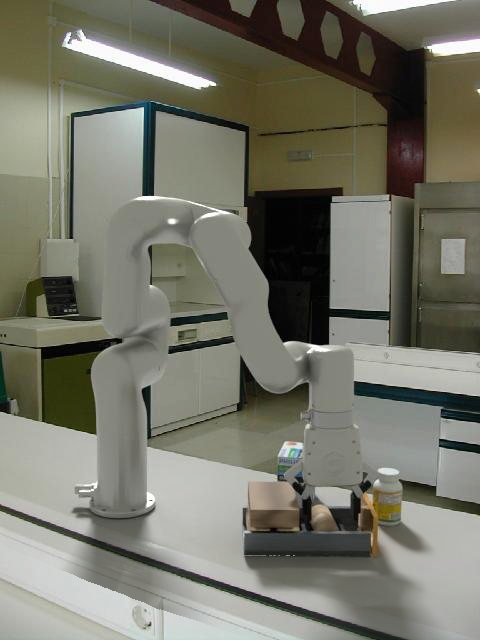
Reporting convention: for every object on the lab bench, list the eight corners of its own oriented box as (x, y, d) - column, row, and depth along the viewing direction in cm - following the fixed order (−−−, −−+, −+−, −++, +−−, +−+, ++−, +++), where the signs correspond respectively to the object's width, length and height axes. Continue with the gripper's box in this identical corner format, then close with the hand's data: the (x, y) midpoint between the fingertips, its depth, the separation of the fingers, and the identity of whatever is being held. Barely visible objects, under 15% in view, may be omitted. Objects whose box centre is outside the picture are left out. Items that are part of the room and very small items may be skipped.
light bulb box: (310, 513, 138) (311, 459, 137) (275, 510, 140) (276, 456, 138) (315, 493, 149) (317, 442, 147) (283, 490, 150) (284, 440, 149)
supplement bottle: (398, 528, 132) (400, 477, 131) (369, 523, 134) (371, 473, 133) (403, 517, 137) (405, 468, 136) (374, 513, 139) (376, 464, 138)
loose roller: (314, 544, 122) (318, 521, 122) (306, 524, 130) (310, 503, 130) (337, 546, 123) (341, 524, 122) (328, 527, 131) (331, 506, 130)
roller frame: (244, 556, 120) (244, 515, 119) (242, 526, 132) (242, 489, 131) (376, 556, 121) (378, 516, 120) (363, 527, 133) (364, 490, 132)
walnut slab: (250, 527, 119) (250, 509, 119) (247, 497, 132) (248, 481, 132) (298, 527, 119) (299, 510, 119) (291, 497, 132) (292, 481, 132)
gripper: (282, 425, 120) (282, 528, 122) (387, 423, 120) (386, 525, 122) (278, 413, 127) (279, 510, 129) (377, 411, 128) (376, 508, 130)
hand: (331, 517), depth 126 cm, fingers open, 7 cm apart
